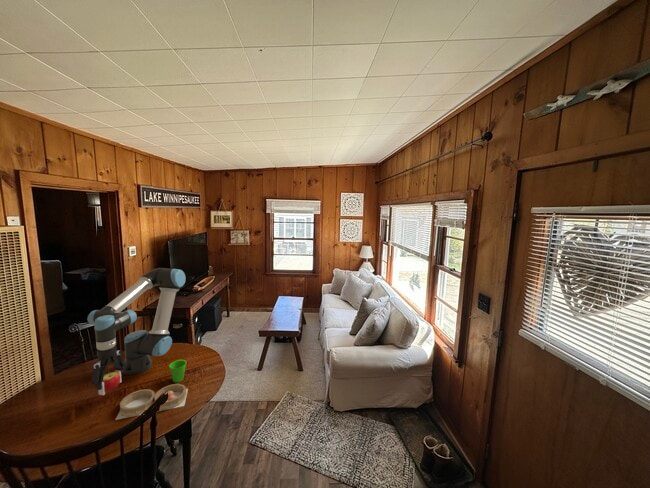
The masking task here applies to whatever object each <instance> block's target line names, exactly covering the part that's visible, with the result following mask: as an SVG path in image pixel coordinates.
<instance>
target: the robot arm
mask: <svg viewBox="0 0 650 488" xmlns="http://www.w3.org/2000/svg"><path fill="white" fill-rule="evenodd" d="M186 279H187V278H186V274H185V272H184V271H183V269H179V268H178V269H177V268H168V267H167V268H166V267H165V268H164V267H158V268H154V269H151V270H150V271H148V272H146V273H144V274H142V275H141V276H140V277H139V278H138V279H137V281H136V282H135V283H134V284H132V285H131V286H130V287H129V288H127V289H126V290H124V291H123V292H122V293H120V294H119V295H118V296H116V297H115V298H114V299H113V300H112V301H110V302H109V303H108V304H107V305H105V306H104V307H102V308H101V309H94V310H92V311H90V313H89V314H88V315H87V319H86V320H87V323H89V324H90V325H94V327H93V329H94V333H95V343H96V344H95V345H96V355H97V358H98V360H97V361H98V362H96V363H94V364H92V365H91V367H92V376H91V385H92V386H96V390H97V391H98V392H97V393H98V395H99V396H105V395H106V391H105V388H104V382H102V381H103V378H104V375H105V374H106V370H108V368H109V366H110V365H112V366H113V367H114V369H115V370H114V372H118V373H119V374H120V382H119V384H120V383H122V375H126V376H131V375H138V374H141V373H143V372H145V371H147V370H148V369H150V368H151V367H152V363H153V362H152V358H151V357H150V356H152V357H162V356H163V355H165V354H167V352H169V350H170V348H171V346H172V345H173V339H172V337H171V336H170V335H171V334H170V331H169V325H170V322H171V317H172V312H173V308H174V304H175V299H176V294H177V292H179V291H180V288H182V287H183V286H185V283H186ZM156 286H157V287H158V288H159V290H160V294H159V298H158V302H157V307H156V312H155V316H154V320H153V324H152V328H151V330H149V331H147V330H145V329H141V330H135V331H133V332H130V333H128V334H127V335H126V336H125V337H124V342H123V343H124V356H123V351H122V350H118V346H117V337H116V334H117V333H116V332H117V331H119V330H122V329H123V328H126V327H128V326H130V325H132V324H133V323H135V322H136V320H137V319H138V318H137V317H138V316H137V312H135V310H133V309H128V310H125V309H126V308H127V307H128V306H130V304H132V303H133V302H134V301H136V300H137V299H138V298H139V297H140V296H141V295H143V294H144V293H145V292H146V291H147V290H151V289H153V287H156ZM123 310H124V311H123ZM124 357H125V358H124Z"/></svg>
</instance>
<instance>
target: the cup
mask: <svg viewBox="0 0 650 488" xmlns="http://www.w3.org/2000/svg"><path fill="white" fill-rule="evenodd" d="M187 363H188V362H187V360H185V359H177V360H175V361H173V362H171V363H170V364H169V365H168V368H169V370H170V373H171V379H172V382H173V383H175V384H179V383H181V382H182V381H183V380H184V379H185V378H184V377H185V372H186V367H187V366H186V365H187Z"/></svg>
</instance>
